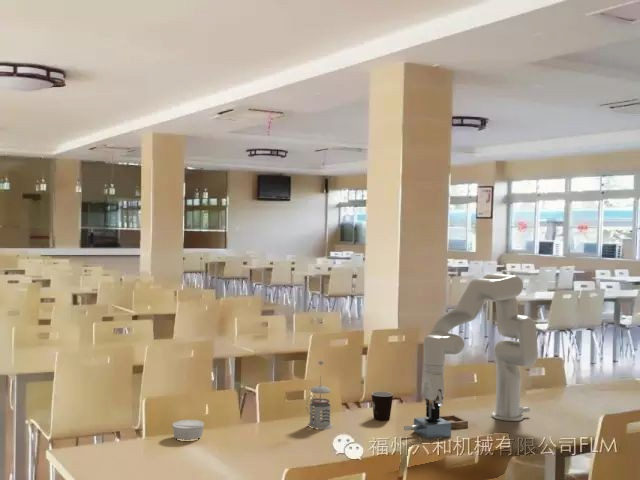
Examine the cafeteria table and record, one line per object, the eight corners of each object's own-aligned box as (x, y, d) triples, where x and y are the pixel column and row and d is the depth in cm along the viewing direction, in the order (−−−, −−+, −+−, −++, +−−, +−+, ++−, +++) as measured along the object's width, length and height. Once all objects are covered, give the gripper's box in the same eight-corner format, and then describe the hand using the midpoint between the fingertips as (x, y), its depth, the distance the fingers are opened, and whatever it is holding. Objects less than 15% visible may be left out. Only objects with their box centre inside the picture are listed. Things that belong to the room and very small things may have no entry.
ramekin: (177, 444, 245) (177, 429, 245) (168, 436, 255) (168, 421, 255) (208, 440, 250) (208, 425, 250) (198, 432, 260) (198, 418, 260)
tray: (454, 420, 284) (454, 414, 284) (467, 427, 274) (467, 421, 274) (427, 422, 279) (427, 417, 279) (440, 429, 270) (440, 423, 270)
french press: (338, 426, 272) (339, 361, 272) (317, 431, 264) (318, 364, 263) (319, 420, 279) (320, 357, 279) (298, 426, 271) (299, 361, 270)
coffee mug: (391, 422, 279) (391, 397, 279) (369, 420, 281) (370, 395, 281) (394, 415, 290) (394, 390, 290) (373, 413, 292) (373, 389, 292)
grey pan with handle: (437, 429, 271) (437, 416, 270) (450, 436, 261) (451, 423, 261) (398, 432, 265) (398, 419, 265) (411, 440, 255) (411, 426, 255)
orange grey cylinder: (426, 427, 265) (427, 395, 265) (434, 427, 266) (435, 395, 266) (430, 430, 262) (431, 397, 262) (438, 429, 263) (439, 397, 263)
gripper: (415, 365, 271) (414, 413, 271) (434, 373, 255) (433, 424, 255) (432, 364, 273) (431, 411, 273) (453, 372, 257) (452, 423, 257)
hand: (432, 417), depth 264 cm, fingers closed on orange grey cylinder, 3 cm apart
